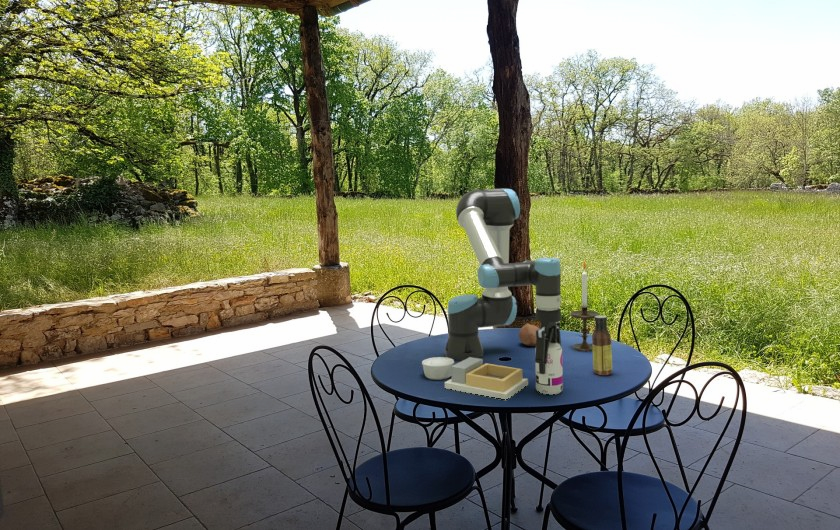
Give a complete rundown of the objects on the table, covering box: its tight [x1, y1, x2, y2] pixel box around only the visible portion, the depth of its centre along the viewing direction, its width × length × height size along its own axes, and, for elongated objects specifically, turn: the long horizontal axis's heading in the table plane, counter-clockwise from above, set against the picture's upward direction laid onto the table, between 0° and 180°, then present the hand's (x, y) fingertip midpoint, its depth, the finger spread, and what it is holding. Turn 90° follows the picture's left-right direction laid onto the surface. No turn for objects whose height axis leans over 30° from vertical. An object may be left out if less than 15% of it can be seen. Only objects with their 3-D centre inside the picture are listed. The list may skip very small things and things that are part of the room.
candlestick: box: [569, 261, 600, 353], centre depth 213 cm, size 11×11×35 cm
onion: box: [518, 322, 540, 347], centre depth 222 cm, size 10×9×10 cm
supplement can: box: [534, 343, 564, 396], centre depth 168 cm, size 8×8×15 cm
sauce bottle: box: [591, 314, 613, 376], centre depth 183 cm, size 6×6×20 cm
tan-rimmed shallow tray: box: [444, 357, 529, 401], centre depth 175 cm, size 22×16×7 cm
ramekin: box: [421, 356, 455, 381], centre depth 188 cm, size 11×11×5 cm
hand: (549, 379), depth 169 cm, fingers closed on supplement can, 8 cm apart
